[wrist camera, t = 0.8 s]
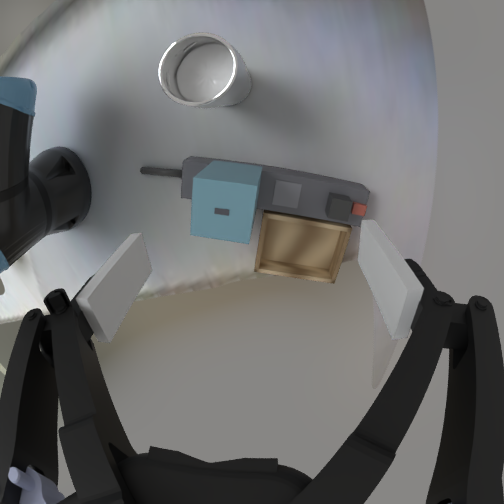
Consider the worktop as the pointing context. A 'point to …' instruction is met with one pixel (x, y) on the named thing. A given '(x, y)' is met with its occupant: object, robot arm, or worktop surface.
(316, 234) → the tray
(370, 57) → the worktop surface
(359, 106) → the worktop surface
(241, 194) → the block
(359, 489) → the robot arm
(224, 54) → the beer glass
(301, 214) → the power strip
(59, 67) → the worktop surface
